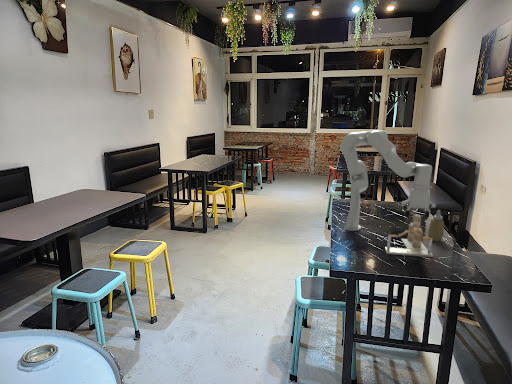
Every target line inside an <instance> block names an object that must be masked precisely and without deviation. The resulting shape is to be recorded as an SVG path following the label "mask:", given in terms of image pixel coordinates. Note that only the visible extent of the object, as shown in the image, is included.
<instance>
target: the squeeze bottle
mask: <svg viewBox="0 0 512 384" xmlns="http://www.w3.org/2000/svg"><path fill="white" fill-rule="evenodd" d="M432 217H433V218H432V219H430V222H429V225H428V230H427V237H431V238H432V242H441V241H442V239H443V237H444V232H445V231H444V230H445V229H444V227H445V221H444V220H443V218H444V217H443V216H442V215H441V210H440V209H438V210H437V211H436V214H435V215H433V216H432Z"/></svg>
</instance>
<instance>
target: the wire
mask: <svg viewBox="0 0 512 384" xmlns="http://www.w3.org/2000/svg"><path fill="white" fill-rule="evenodd" d="M410 231H411V232H413V233H414V234H416V235H417V236H419V237H420V238H421V239H422V240H428V246H427V250H418V249H407V248H402V247H391V244H392V243H391V240H392V238H400V237H402V236H404V235H406V234H408V232H410ZM432 245H433V241H432V238H431V237H428V236H421V235H420V234H418V233H417V232H416V231H414V230H413V229H409V228H408V229H407V230H405V231H403V232H401V233H399V234H388V236H387V244H386V246H385V247H384V250H385V253H386V254H387V255H399V256H412V257H413V256H414V257H424V258H425V257H426V258H433V257H434V255H433V253H432V252H431V251H432Z"/></svg>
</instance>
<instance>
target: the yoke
mask: <svg viewBox="0 0 512 384" xmlns="http://www.w3.org/2000/svg"><path fill="white" fill-rule="evenodd" d="M421 222H422V216H421V215H420V214H413V218H412V222H410V223H409V224H408V230H409V229H413V230H414V231H416V232H417V233H418V234H420V235H421V236H423V235H424V232H423V229H422V228H421ZM423 237H424V236H423ZM406 239H407V240H408V241H413V243H412V247H413V248H421V243H423V239H421V238H420V237H419V236H417V235H416V234H414V233H413V232H411V231H410V232H408V233H407V238H406Z"/></svg>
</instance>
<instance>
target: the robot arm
mask: <svg viewBox="0 0 512 384" xmlns="http://www.w3.org/2000/svg"><path fill="white" fill-rule="evenodd" d="M360 146H371V147H372V148H373V149H374V150H375V151H376V152H378V153H379V154H380V155H381V156H382V158H383V159H384V161H385V163H386V165H387V166H388V167H389V169H391V170H392V172H394V173H395V174H396V175H397V176H399V177H400V178H401V177H402V178H409V177H412V176H414V180H413V186H412V187H413V188H411V189H410V191H409V195H408V198H407V199H406V200H402V201H401V205H402V208H403V209H405V213H404V215H405V218H407V219H409V217H410V212H411V211H410V210H411V209H422V210H423V209H425V211H424V219H426V220H428V219H429V217H430V213H431V212H432V211H433V210H434V209H435V208H436V207H437V204H436V203H434V202H433V201H431V190H430V189H432V188H433V186H432V185H430V183H431V179H432V172H433V167H432V165H431V164H427V163H418V162H415V161H408V162H406V161H404V160H403V159H402V158H401V157H400V156H399V155H398V153H397V146H396V145H395V144H394V143H393V142H391V141H390V140H389V135H388V133H387V132H386V131H385V130H383V129H379V130H377V129H376V130H367V131H353V132H350V133H348V134H347V135H345V136H344V137H343V139H342V140H341V149H342V151H343V153H344V154H345V157H346V160H347V163H348V167H349V170H350V173H351V182H352V202H351V211H350V214H349V217H348V221H347V224H346V227H345V231H350V232H351V231H353V232H354V231H359V230H361V229H362V225H361V224H359V223H360V222H359V221H360V213H361V212H360V211H361V201H362V200H361V193H362V192H365V191H367V189H368V187H369V176H368V168H367V165H366V163H365V162H364V161H363V160H361V159H358V158H359V157H358V152H357V149H356V147H360ZM406 204H407V206H406ZM430 205H431V206H430Z"/></svg>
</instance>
